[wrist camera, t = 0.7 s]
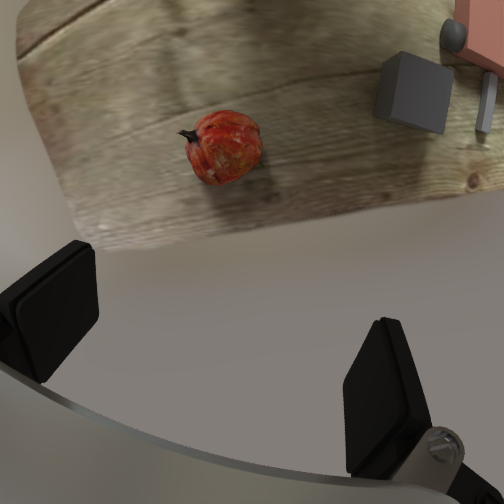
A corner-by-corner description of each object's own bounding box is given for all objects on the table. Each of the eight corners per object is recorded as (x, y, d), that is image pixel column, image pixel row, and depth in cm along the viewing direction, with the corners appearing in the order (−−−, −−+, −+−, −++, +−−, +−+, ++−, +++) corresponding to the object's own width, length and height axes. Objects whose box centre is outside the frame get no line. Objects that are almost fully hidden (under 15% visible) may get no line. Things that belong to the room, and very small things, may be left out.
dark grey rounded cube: (382, 62, 26) (401, 50, 20) (426, 77, 26) (454, 71, 20) (373, 116, 29) (390, 116, 23) (416, 129, 29) (443, 134, 22)
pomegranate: (276, 126, 33) (204, 78, 26) (301, 167, 29) (217, 113, 22) (232, 171, 37) (159, 134, 30) (248, 216, 33) (163, 179, 26)
